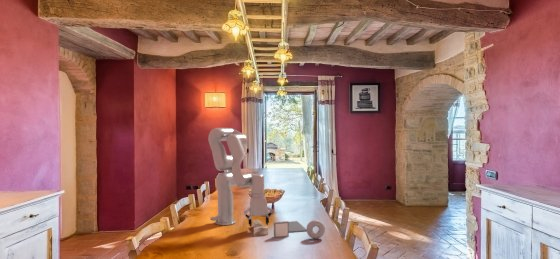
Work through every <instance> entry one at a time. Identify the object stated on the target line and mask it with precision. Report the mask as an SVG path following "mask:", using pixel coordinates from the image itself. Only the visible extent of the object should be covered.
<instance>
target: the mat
mask: <svg viewBox="0 0 560 259" xmlns="http://www.w3.org/2000/svg"><path fill="white" fill-rule="evenodd" d="M288 222H289V233H301V232H307V230H306V229H307V228H306V227H305V226H303V224H301V223H300V222H299V221H297V220H293V221H288Z"/></svg>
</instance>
